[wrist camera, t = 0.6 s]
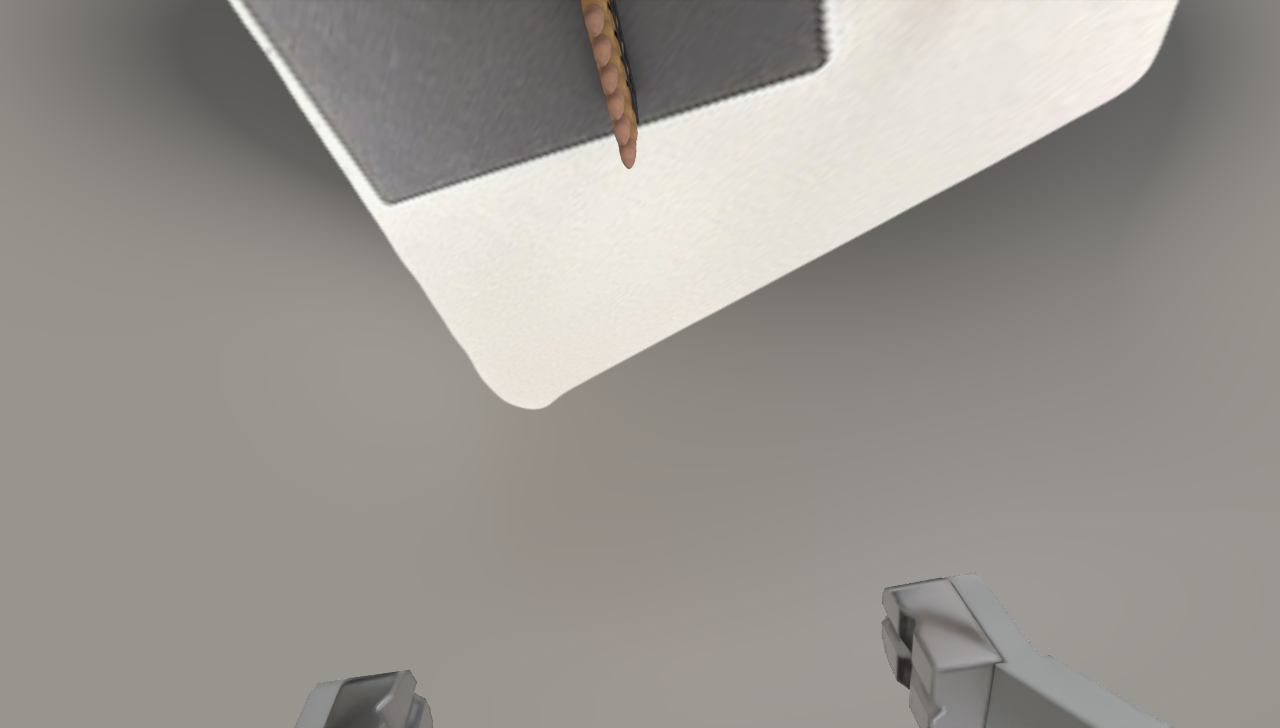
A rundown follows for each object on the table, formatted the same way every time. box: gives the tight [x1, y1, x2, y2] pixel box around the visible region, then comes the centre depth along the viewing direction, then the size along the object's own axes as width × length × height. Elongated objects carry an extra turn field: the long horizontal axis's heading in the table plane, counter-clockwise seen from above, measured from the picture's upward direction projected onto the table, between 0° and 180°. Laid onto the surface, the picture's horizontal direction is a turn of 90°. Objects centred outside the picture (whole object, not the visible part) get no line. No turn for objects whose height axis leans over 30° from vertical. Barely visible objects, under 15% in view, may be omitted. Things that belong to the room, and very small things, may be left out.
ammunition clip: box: [581, 0, 639, 169], centre depth 43 cm, size 11×2×12 cm, turn 12°
